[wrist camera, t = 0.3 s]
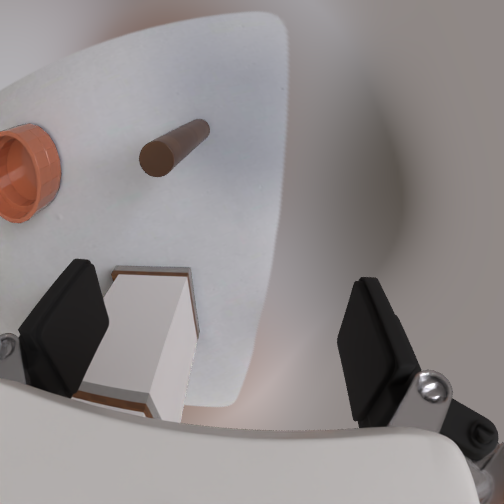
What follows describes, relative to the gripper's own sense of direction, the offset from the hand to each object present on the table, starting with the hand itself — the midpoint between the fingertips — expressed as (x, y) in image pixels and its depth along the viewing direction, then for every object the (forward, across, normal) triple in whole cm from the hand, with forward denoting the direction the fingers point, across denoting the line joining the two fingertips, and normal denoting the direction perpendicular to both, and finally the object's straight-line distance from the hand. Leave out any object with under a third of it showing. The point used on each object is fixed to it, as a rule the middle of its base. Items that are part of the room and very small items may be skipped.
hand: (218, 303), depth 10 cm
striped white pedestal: (+24, +12, +21) cm, 34 cm away
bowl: (+24, +30, +1) cm, 38 cm away
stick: (+24, +5, -2) cm, 25 cm away
